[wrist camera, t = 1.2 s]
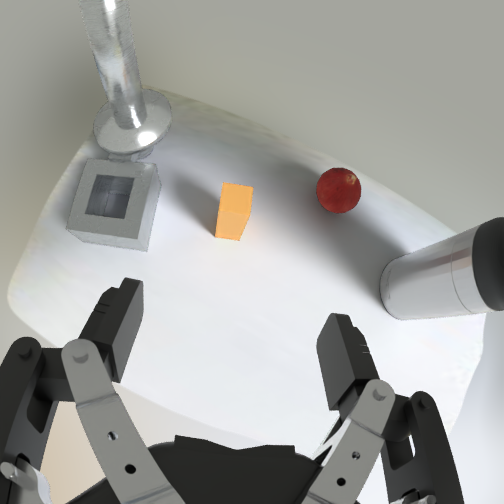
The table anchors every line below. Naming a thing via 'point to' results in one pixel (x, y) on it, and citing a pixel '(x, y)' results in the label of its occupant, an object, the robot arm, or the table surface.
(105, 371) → the robot arm
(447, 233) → the table surface
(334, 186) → the pomegranate
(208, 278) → the table surface
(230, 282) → the table surface
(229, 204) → the orange block
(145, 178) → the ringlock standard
